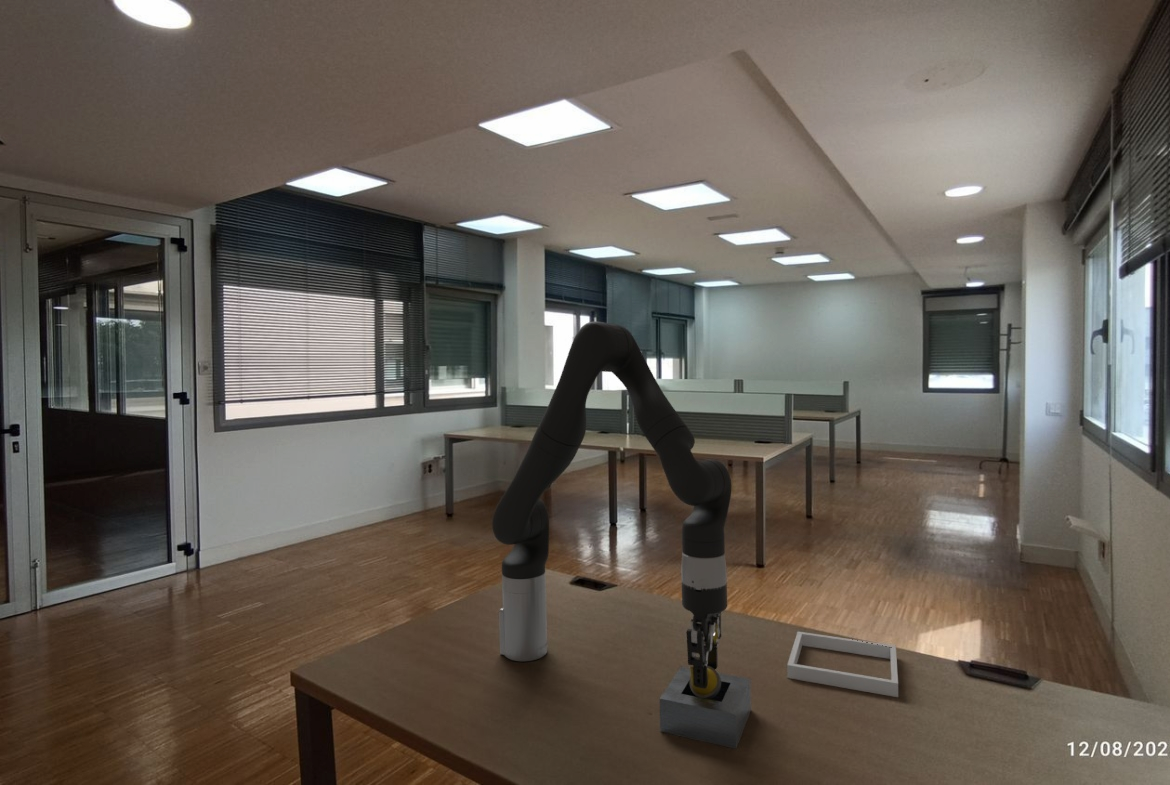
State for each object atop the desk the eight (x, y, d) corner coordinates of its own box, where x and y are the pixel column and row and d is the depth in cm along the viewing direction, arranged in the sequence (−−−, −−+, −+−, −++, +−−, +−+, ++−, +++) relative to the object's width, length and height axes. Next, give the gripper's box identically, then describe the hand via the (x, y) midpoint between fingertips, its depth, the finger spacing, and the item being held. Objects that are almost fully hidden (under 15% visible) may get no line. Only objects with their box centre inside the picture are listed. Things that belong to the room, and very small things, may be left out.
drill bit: (730, 700, 106) (709, 677, 100) (701, 710, 107) (679, 687, 101) (722, 670, 110) (701, 646, 104) (694, 679, 111) (672, 656, 105)
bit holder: (660, 731, 103) (659, 698, 102) (681, 695, 114) (681, 666, 114) (736, 748, 97) (735, 714, 97) (750, 709, 109) (750, 678, 108)
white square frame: (787, 677, 120) (787, 664, 120) (797, 642, 135) (797, 631, 135) (898, 697, 112) (898, 683, 111) (895, 657, 127) (895, 645, 127)
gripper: (693, 564, 113) (695, 655, 114) (669, 590, 100) (671, 692, 101) (735, 569, 110) (737, 663, 110) (716, 596, 97) (718, 702, 97)
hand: (705, 676), depth 105 cm, fingers closed on drill bit, 6 cm apart
